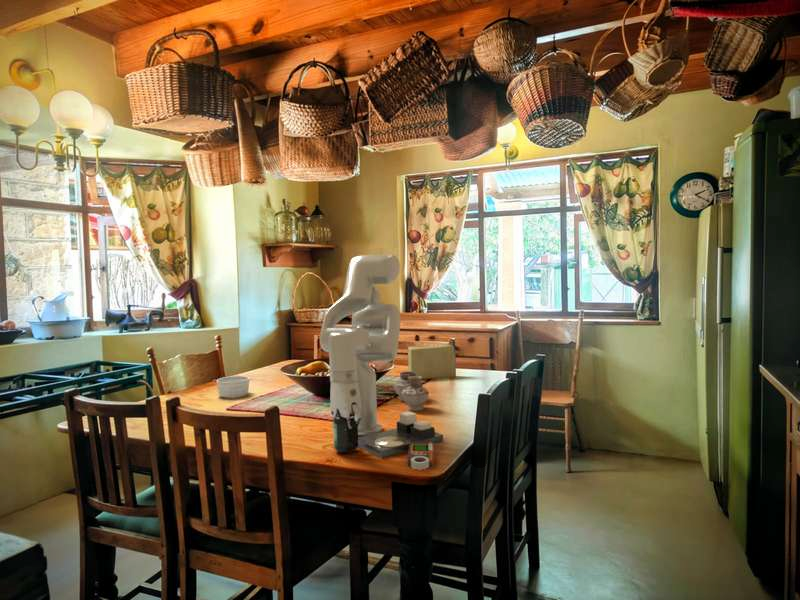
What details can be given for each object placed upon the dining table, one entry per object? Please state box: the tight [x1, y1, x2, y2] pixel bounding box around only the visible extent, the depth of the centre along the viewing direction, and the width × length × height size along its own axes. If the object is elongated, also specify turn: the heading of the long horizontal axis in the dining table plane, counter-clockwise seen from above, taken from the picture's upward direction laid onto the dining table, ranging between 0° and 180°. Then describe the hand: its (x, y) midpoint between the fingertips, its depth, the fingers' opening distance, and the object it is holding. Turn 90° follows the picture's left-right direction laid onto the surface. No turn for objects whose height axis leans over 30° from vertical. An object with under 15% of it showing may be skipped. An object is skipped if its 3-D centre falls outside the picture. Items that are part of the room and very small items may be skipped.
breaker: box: [399, 411, 417, 425], centre depth 161 cm, size 4×4×4 cm
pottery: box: [393, 370, 429, 412], centre depth 200 cm, size 11×25×12 cm, turn 10°
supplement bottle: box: [332, 408, 359, 453], centre depth 149 cm, size 7×7×12 cm
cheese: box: [407, 344, 457, 380], centre depth 249 cm, size 22×10×15 cm, turn 97°
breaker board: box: [358, 420, 444, 459], centre depth 155 cm, size 14×22×4 cm, turn 126°
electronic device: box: [407, 442, 435, 471], centre depth 142 cm, size 7×3×15 cm
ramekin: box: [216, 375, 250, 399], centre depth 221 cm, size 13×13×7 cm
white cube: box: [414, 419, 432, 430], centre depth 156 cm, size 4×4×4 cm
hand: (345, 437), depth 149 cm, fingers closed on supplement bottle, 6 cm apart
